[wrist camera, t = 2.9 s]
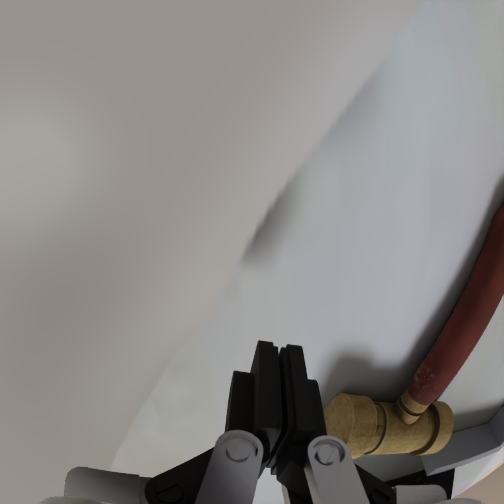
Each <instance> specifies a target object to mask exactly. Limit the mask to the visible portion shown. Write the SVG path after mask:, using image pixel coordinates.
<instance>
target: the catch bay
mask: <svg viewBox="0 0 504 504" xmlns="http://www.w3.org/2000/svg"><path fill="white" fill-rule="evenodd" d="M503 446H504V405H503V406H502V407H501V409H500V410H499V411H498V412H497V413H496V414H495V416H494V417H493V418H492V419H491V420H490V421H489V422H488V423H487V424H484V425H480V426H477V427H473V428H469V429H465V430H462V431H457V432H453V433H452V435H451V437H450V439H449V441H448V443H447V444H446V445H445V446H444V447H443V448H442V449H441V450H440V451H438V452H436V453H433V454H426V455H420V456H421V459H422V462H423V465H424V468H425V471H426V474H427V476H429V475H433V474H436V473H440V472H443V471H447V470H450V469H453V468H456V467H459V466H462V465H465V464H467V463H470V462H473V461H475V460H478V459H480V458H483V457H485V456H488V455H490V454H492V453H495V452H497V451H499V450H500V449H501V448H502V447H503Z"/></svg>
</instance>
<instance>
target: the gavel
mask: <svg viewBox="0 0 504 504" xmlns="http://www.w3.org/2000/svg"><path fill="white" fill-rule="evenodd" d="M503 294H504V202H503V204H502V205H501V207H500V208H499V210H498V211H497V212H496V214H495V215H494V218H493V221H492V223H491V226H490V229H489V232H488V234H487V237H486V240H485V242H484V245H483V248H482V250H481V253H480V255H479V257H478V260H477V262H476V265H475V267H474V269H473V271H472V274H471V276H470V278H469V280H468V282H467V284H466V287H465V289H464V291H463V293H462V295H461V297H460V299H459V301H458V303H457V305H456V306H455V308H454V310H453V312H452V314H451V316H450V318H449V319H448V321H447V323H446V325H445V326H444V328H443V330H442V332H441V333H440V335H439V337H438V338H437V340H436V342H435V343H434V345H433V346H432V348H431V349H430V351H429V353H428V354H427V356H426V357H425V359H424V360H423V362H422V363H421V365H420V366H419V368H418V369H417V371H416V372H415V374H414V376H413V378H412V380H411V382H410V384H409V386H408V388H407V389H406V390H405V392H404V393H403V394H402V396H401V397H400V398H399V399H398V400H397V401H396V403H387V402H376V401H374V402H373V401H372V400H371V399H370V398H369V397H367V396H361V395H353V394H346V393H339V394H338V395H336V396H335V397H334V398H333V399H332V400H331V402H330V403H329V404H328V406H327V407H326V408H325V409H324V410H323V413H324V418H325V424H326V429H327V435H328V436H333V437H336V438H338V439H340V440H342V441H343V442H344V443H345V444H346V446H347V447H348V449H349V451H350V454H351V456H352V459H355V458H358V457H360V456H362V455H363V454H365V455H376V454H398V453H409V454H410V455H414V456H418V455H426V454H433V453H436V452H438V451H440V450H441V449H442V448H443V447H444V446H445V445H446V444H447V443H448V441H449V439H450V437H451V435H452V432H453V428H454V416H453V412H452V410H451V408H450V407H449V405H447V404H446V403H444V402H441V401H434V400H435V399H436V398H437V397H438V396H439V395H441V394H442V393H443V392H444V390H445V389H446V388H447V386H448V385H449V384H450V382H451V381H452V380H453V378H454V377H455V376H456V374H457V373H458V371H459V370H460V368H461V367H462V366H463V364H464V363H465V361H466V360H467V358H468V357H469V355H470V353H471V352H472V350H473V349H474V347H475V346H476V344H477V342H478V341H479V339H480V337H481V336H482V334H483V332H484V330H485V329H486V327H487V325H488V323H489V322H490V320H491V318H492V316H493V314H494V312H495V310H496V308H497V306H498V304H499V302H500V300H501V298H502V296H503Z"/></svg>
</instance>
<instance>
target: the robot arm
mask: <svg viewBox="0 0 504 504" xmlns="http://www.w3.org/2000/svg"><path fill="white" fill-rule="evenodd" d="M265 467H266V468H271V475H277V480H278V481H279V482H280V483H281V484H282V492H283V497H284V501H285V504H484V503H483V502H482V501H480V500H476V499H470V498H456V499H450V500H447V496H446V493H445V490H444V489H443V488H442V487H440V486H439V485H397V486H395V487H390V486H389V485H388V484H386V483H385V482H383V481H381V480H380V479H378V478H376V477H375V476H373V475H372V474H370V473H369V472H367V471H365V470H364V469H362V468H361V467H359V466H358V465H356V464H355V463H354V462H353V459H352V456H351V454H350V451H349V449H348V447H347V446H346V444H345V443H344V442H343V441H342V440H340V439H338V438H336V437H333V436H328V435H327V429H326V424H325V418H324V413H323V407H322V402H321V397H320V392H319V386H318V383H317V381H316V380H310V379H308V378H307V372H306V366H305V360H304V354H303V348H302V346H298V345H290V344H288V345H287V346H286V348H284V347H282V348H281V350H280V353H278V347H276V346H273V342H267V341H260V340H259V341H258V344H257V347H256V351H255V355H254V359H253V363H252V367H251V371H250V373H247V372H240V371H234V372H233V377H232V382H231V387H230V393H229V400H228V408H227V416H226V425H225V433H223V434H222V435H221V436H220V437H219V438H218V440H217V442H216V444H215V447H213V448H211V449H209V450H208V451H206V452H204V453H202V454H200V455H198V456H196V457H194V458H193V459H191V460H189V461H187V462H185V463H183V464H181V465H179V466H176V467H174V468H172V469H170V470H168V471H166V472H164V473H161V474H159V475H157V476H155V477H153V478H150V477H140V476H139V475H136V474H126V473H118V472H111V471H105V470H98V469H92V468H88V467H76V468H73V469H71V470H70V471H69V472H68V474H67V477H66V480H65V490H64V496H62V497H50V498H47V499H44V500H43V501H41V502H40V503H39V504H252V503H253V499H254V494H255V490H256V485H257V480H258V479H259V477H260V476H261V474H262V472H263V471H264V469H265Z"/></svg>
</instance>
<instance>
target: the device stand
mask: <svg viewBox="0 0 504 504" xmlns="http://www.w3.org/2000/svg"><path fill="white" fill-rule="evenodd" d="M454 472H455V468H453V469H450V470H447V471H443V472H440V473H436V474H433V475H429V476H427V474H426V471H425V470H422V471H419V472H416V473H413V474H410V475H407V476H404V477H401V478H398V479H394V480H391V481H387V482H385V483H386V484H388V485H389V486H390V487H395V486H397V485H439V486H440V487H442V488H443V489H444V490H445V493H446V496H447V500H450V499H451V495H452V488H453V481H454Z"/></svg>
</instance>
